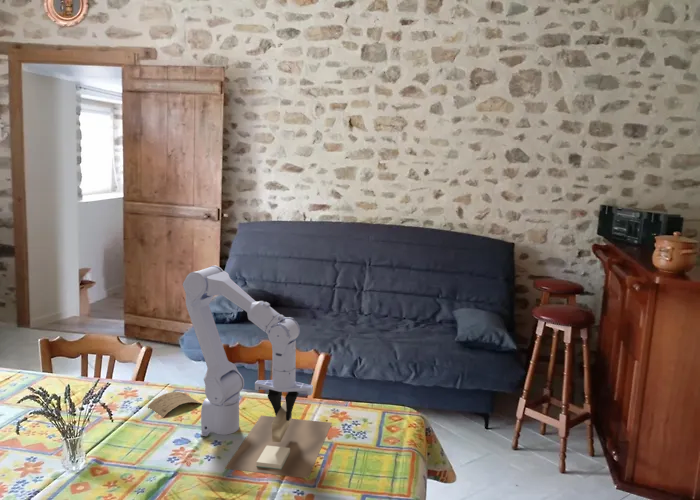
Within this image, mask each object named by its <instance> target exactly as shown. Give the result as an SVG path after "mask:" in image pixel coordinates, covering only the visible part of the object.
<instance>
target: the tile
mask: <svg viewBox="0 0 700 500" xmlns="http://www.w3.org/2000/svg"><path fill="white" fill-rule="evenodd" d="M289 454H290V448H286V447H277V446H268V445H267V446H266V447H265V449H264V450H263V452H262V454H261V455H260V457H259V459H258V460H257V462H256V467H263V468H272V469H282V467H283V465H284V463H285V461H286V459H287V457H288V456H289Z"/></svg>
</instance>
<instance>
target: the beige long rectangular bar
mask: <svg viewBox="0 0 700 500" xmlns="http://www.w3.org/2000/svg"><path fill="white" fill-rule="evenodd" d="M292 413H293V412H292ZM292 413H291V418H290V420H289V421H286V400H285V401H283V402H282V403H281V408H280V410H279V411H278V413H277V415H275V416H274V417H275V418H274V420H273V422H272V442H281V440H282V438H283V436H284V434H285V432H286V430H287V428H288V426H289V424H290V422H291V420H292V419H293V415H292Z"/></svg>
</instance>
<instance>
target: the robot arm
mask: <svg viewBox="0 0 700 500" xmlns="http://www.w3.org/2000/svg"><path fill="white" fill-rule="evenodd" d="M229 274H230V273H228V272H227V271H224V270H223V269H222V267H220V266H218V265H211V266H209V267H206V268H203V269H201V270H200V269H199V270H197V271H191V272H190V273H188V274H187V275H186V277H185V279H184V280H183V282H182V287H183V290H184V293H185V306H186V309H187V312H188V316H189V318H190V321H191V324H192V326H193V330H194V333H195V335H196V338H197V341H198V344H199V347H200V350H201V352H202V353H201V354H202V356H203V359H204V362H205V364H206V368H207V370H206V372H205V375H204V377H203V382H204V387H205V389H204V392H205V393H204V394H205V398H204V400H203V402H202V404H201V410H200V419H201V420H200V424H201V425H200V426H201V432H200V434H199V435H200V436H201V437H208V436H209V434H210V433H212V434H217V435H230V434H233V433H236V432H238V431H239V429H240V396H241V391H243V389H244V387H245V379H244V377H243V376H242V373H240V372H239V370H238V367H237V366H236V364H235V363H233V362H231V361H229V359H228V357H227V354H226V351H225V349H224V348H225V347H224V344H223V342H222V340H221V339H222V338H221V337H220V333H219V331H218V327H217V325H216V321H215V319H214V315H213V313H212V310H211V308H210V307H211V306H210V304H211V302H212V300H213V298H214V296H222V297H224V298H225V299H227V300H229V301H230V302H231V303H233V304H234V305H236V306H237V307H239V308H241V309H242V310H244V311H245V312H246V313H247V319H248V321H250V322H251V323H253V324H254V325H255V326H257V327H258V328H259V329H260V330H261V331H263V332H264V333H266V334H267V337H268V341H269V343H270V344H271V350H272V367H271V368H272V370H271V371H272V373H271V374H272V375H271V376H272V377H271V379H267V380H265V379H263V380H262V379H261V380H260V379H257V380H256V381H255V382H254V390H255V391H260V390H261V391H262V390H263V391H268V394H267V399H268V400H269V402H270V403H271V406H272V408H273V411H274V414H275V416H276V415H277V413H278V411H279V410H280V408H281V406H282V394H283V393H287V394H286V396H285V398H284V399H285V402H286V421H289V420H290V418H291V413H293V409H294V405H295V404H296V401H297V398H298V395H299V394H305V395H307V396H312V395H313V392H314V385H313V384H308V383H303V382H299V381H296V367H297V366H296V363H297V362H296V358H297V357H296V355H297V353H296V351H297V340H296V339H297V338H298V337H299V336H300V333H301V328H300V327H301V326H300V325H299V323H298V321H297V320H295V318H294V317H290V316H289V317H286V316H285V315H283V314H280V313H279V312H278V311H277V310H276V309H274V308H273V307H271V303H269V302H267V301H264V300H259V301H256V300H255V299H254V298H252V296H250V295H249V294H248V293H247V292H246V291H245V290H243V288H241V287H240V286H239V285H238V284H237V283H235V281H234V280H233V279H231V277H230V275H229Z"/></svg>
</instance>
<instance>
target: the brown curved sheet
mask: <svg viewBox="0 0 700 500" xmlns="http://www.w3.org/2000/svg"><path fill="white" fill-rule="evenodd" d="M187 403H195V404H196V403H197V404H201V405H202V404H203V402H202V403H201V402H199V401H197V400H196V399H194V398H193V397H191V396H189V394H188V395H187V393H186V392H185V393H184V392H180V391H173V392H167V393H164V394H162V395H159V396H158V397H156V398H155V399H153V400H152V401H151V402H150V403H149V404H148V405H147V408H148V407H149V408H150V409H149V408H148V409H149V410H151V409H152V410H151V411H152V412H154V411H155V412H156V414H157V413H158V414H157V415H158V416H160V417H161V418H164V417H165V416H166V415H168V413H169V412H171V411H172V410H173V409H175V408H177V407H178V406H180V405H183V404H187ZM155 412H154V413H155Z"/></svg>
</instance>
